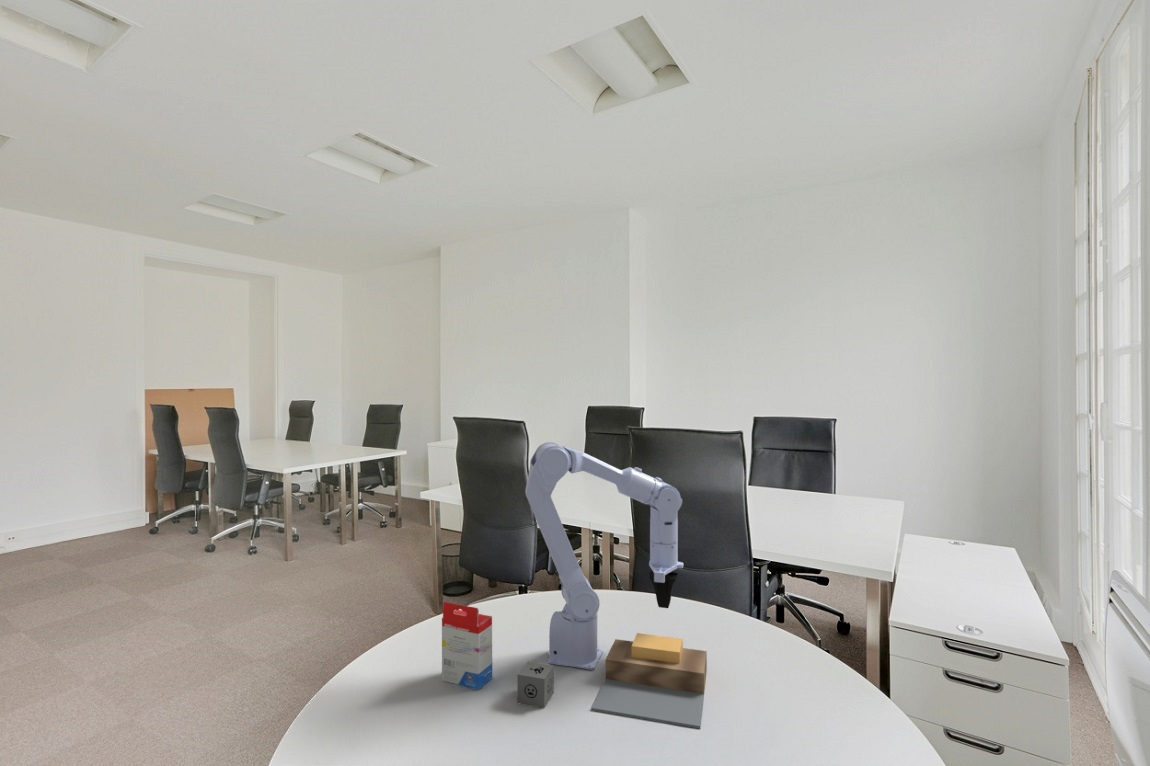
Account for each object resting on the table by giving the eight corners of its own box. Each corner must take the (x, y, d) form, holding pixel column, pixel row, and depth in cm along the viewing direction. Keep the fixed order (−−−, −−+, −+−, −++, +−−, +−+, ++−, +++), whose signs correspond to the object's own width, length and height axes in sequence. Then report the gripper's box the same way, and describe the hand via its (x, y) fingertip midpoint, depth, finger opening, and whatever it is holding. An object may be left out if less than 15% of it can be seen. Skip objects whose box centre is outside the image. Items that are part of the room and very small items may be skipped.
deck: (605, 681, 103) (605, 659, 103) (615, 659, 111) (615, 639, 112) (703, 696, 98) (703, 673, 98) (706, 672, 106) (706, 651, 106)
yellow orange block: (631, 656, 104) (631, 646, 104) (637, 643, 110) (637, 633, 110) (679, 663, 102) (679, 652, 102) (682, 649, 107) (682, 638, 107)
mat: (591, 710, 93) (591, 707, 93) (606, 678, 104) (606, 676, 104) (700, 728, 88) (700, 726, 88) (704, 693, 99) (704, 691, 99)
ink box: (493, 678, 104) (493, 600, 104) (478, 691, 99) (478, 609, 100) (456, 669, 107) (457, 593, 108) (440, 680, 103) (440, 601, 103)
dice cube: (544, 708, 94) (544, 678, 94) (517, 703, 95) (517, 674, 95) (553, 693, 99) (554, 665, 99) (528, 689, 100) (528, 661, 100)
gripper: (679, 551, 107) (679, 622, 107) (686, 534, 121) (686, 596, 121) (643, 548, 109) (643, 618, 109) (654, 531, 123) (654, 593, 123)
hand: (663, 606), depth 115 cm, fingers closed
